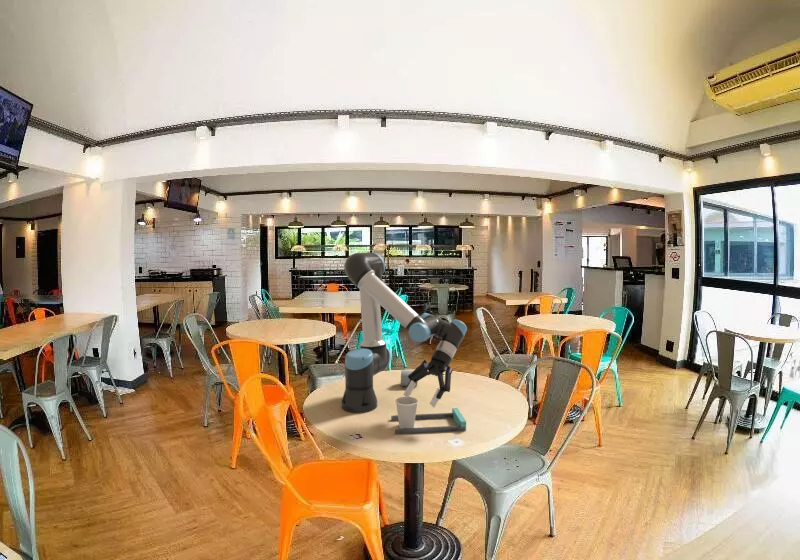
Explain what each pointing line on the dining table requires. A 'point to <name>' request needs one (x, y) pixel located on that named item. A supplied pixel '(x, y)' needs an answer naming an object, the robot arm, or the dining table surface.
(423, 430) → the guide rails
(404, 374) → the ceramic mug
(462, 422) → the teal band
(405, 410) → the dixie cup
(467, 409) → the dining table surface
